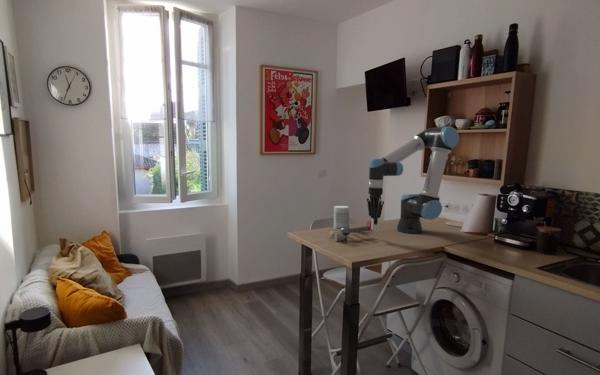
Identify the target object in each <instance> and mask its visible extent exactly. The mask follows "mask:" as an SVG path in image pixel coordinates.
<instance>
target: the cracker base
mask: <svg viewBox="0 0 600 375" xmlns="http://www.w3.org/2000/svg"><path fill="white" fill-rule="evenodd" d="M326 239H327V240H329V241H332V242H333V243H337V244H340V245H342V246H344V247H348V248H357V247H360V246H366V245H370V244H371V245H372V244H376V243H381V242H383V240H381V239H377V238H375V237H371V236H368V235H365V234H362V233H360V232H355V233H350V234H349V235H347V240H341V241H335V240H334V239H331V238H330V237H328V238H326Z"/></svg>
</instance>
